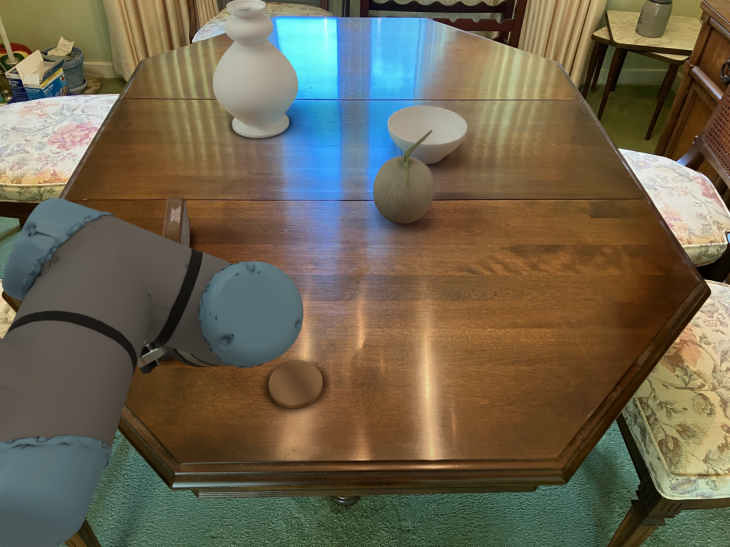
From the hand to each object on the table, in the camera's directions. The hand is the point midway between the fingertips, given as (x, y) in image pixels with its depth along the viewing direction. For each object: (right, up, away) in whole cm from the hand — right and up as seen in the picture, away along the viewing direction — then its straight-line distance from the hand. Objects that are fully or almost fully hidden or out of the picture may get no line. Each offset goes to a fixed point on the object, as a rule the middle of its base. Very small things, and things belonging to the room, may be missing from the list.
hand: (167, 339), depth 72 cm
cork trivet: (+17, -6, 0) cm, 18 cm away
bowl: (+38, +33, +43) cm, 66 cm away
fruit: (+32, +18, +27) cm, 46 cm away
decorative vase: (+3, +42, +51) cm, 66 cm away
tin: (-4, +12, +19) cm, 22 cm away
